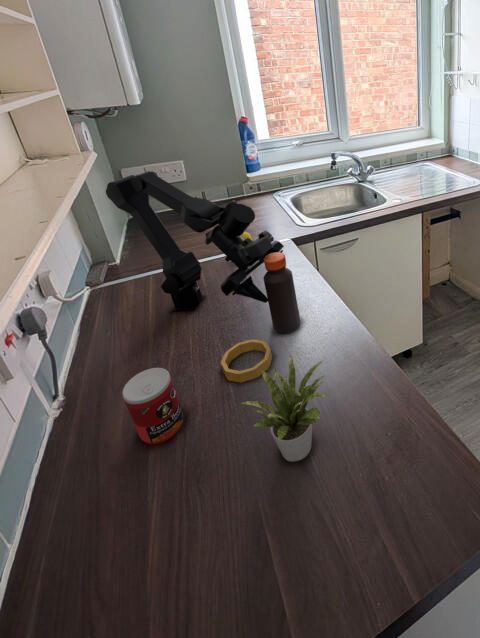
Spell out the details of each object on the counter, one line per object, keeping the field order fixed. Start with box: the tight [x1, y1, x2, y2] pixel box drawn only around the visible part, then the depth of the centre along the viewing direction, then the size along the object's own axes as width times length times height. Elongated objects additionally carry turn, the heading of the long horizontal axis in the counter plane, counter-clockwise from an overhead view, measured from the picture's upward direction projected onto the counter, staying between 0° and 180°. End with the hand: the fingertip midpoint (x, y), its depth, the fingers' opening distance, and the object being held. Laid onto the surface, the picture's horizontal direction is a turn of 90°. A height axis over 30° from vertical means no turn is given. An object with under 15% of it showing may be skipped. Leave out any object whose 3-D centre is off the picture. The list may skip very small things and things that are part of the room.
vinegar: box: [262, 251, 301, 335], centre depth 98 cm, size 7×7×20 cm
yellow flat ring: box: [220, 339, 273, 384], centre depth 90 cm, size 10×11×2 cm
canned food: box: [122, 367, 184, 445], centre depth 74 cm, size 8×8×11 cm
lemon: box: [241, 231, 254, 241], centre depth 139 cm, size 6×6×8 cm
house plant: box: [240, 353, 330, 463], centre depth 68 cm, size 14×14×16 cm
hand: (278, 290), depth 98 cm, fingers open, 9 cm apart
